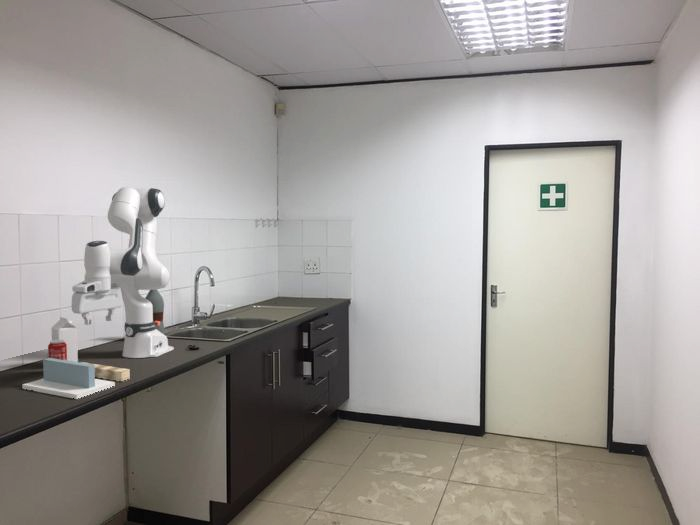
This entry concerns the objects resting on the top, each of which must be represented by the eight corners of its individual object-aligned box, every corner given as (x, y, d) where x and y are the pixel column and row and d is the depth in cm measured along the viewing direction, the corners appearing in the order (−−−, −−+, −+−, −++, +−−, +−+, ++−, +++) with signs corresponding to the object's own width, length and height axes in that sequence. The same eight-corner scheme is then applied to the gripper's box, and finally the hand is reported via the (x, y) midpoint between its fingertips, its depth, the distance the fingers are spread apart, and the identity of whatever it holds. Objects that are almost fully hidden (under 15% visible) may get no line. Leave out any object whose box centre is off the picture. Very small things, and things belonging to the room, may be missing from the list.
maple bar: (73, 374, 220) (73, 364, 220) (82, 372, 224) (81, 362, 224) (121, 382, 211) (121, 371, 210) (129, 380, 214) (129, 369, 214)
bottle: (168, 338, 283) (167, 277, 281) (157, 342, 275) (156, 279, 272) (151, 337, 286) (150, 276, 283) (140, 341, 277) (139, 278, 274)
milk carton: (59, 368, 228) (58, 320, 227) (52, 364, 233) (50, 317, 232) (78, 364, 234) (76, 317, 232) (70, 361, 238) (69, 315, 237)
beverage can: (62, 369, 227) (61, 338, 226) (70, 372, 223) (69, 341, 222) (46, 372, 222) (44, 341, 221) (53, 375, 218) (52, 343, 217)
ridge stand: (62, 377, 216) (61, 353, 215) (114, 386, 205) (114, 361, 204) (22, 388, 201) (21, 363, 200) (76, 399, 191) (76, 372, 190)
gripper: (114, 282, 225) (114, 318, 226) (68, 287, 207) (69, 326, 208) (126, 283, 223) (126, 319, 223) (80, 288, 204) (81, 327, 205)
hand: (98, 322), depth 215 cm, fingers open, 8 cm apart
